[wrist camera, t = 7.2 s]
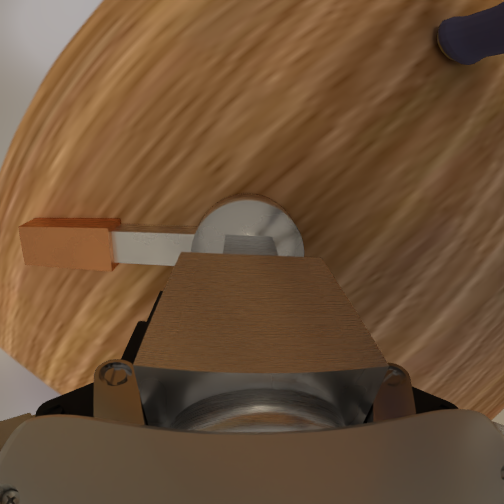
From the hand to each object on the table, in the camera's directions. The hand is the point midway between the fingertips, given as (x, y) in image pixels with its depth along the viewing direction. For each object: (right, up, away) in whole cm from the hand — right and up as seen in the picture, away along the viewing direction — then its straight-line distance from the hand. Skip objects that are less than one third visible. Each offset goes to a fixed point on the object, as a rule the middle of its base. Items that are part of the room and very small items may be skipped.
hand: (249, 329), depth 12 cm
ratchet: (-7, +4, +9) cm, 12 cm away
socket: (0, 0, +1) cm, 1 cm away
